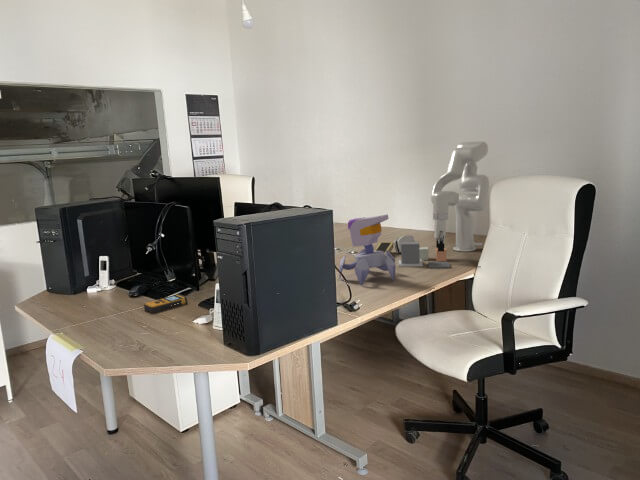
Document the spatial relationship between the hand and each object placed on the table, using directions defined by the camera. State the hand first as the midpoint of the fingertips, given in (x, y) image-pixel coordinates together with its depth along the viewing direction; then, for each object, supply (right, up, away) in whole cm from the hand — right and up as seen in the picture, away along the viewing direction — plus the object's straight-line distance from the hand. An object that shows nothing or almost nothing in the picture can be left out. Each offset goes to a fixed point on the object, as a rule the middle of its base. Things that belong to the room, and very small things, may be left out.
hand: (440, 249), depth 255 cm
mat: (-3, -8, -10) cm, 13 cm away
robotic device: (-39, -13, -25) cm, 48 cm away
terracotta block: (+1, -6, +2) cm, 6 cm away
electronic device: (-126, -23, -52) cm, 138 cm away
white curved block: (-13, -2, +28) cm, 31 cm away
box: (-28, -4, +18) cm, 33 cm away
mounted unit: (-16, -7, -3) cm, 18 cm away
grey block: (-8, -5, +6) cm, 11 cm away
